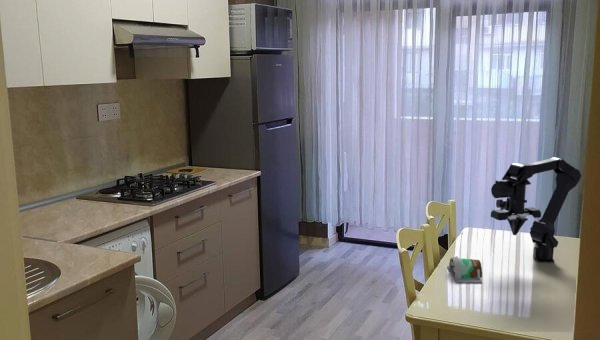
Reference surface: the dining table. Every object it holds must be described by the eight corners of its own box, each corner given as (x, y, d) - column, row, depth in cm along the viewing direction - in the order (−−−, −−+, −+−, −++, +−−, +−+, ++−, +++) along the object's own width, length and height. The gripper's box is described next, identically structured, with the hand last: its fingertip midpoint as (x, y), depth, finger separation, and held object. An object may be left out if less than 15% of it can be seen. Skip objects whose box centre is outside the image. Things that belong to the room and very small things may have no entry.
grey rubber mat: (471, 267, 221) (471, 266, 221) (482, 283, 205) (482, 281, 205) (447, 267, 221) (447, 266, 221) (455, 283, 206) (455, 281, 206)
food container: (483, 263, 206) (456, 262, 207) (483, 279, 208) (455, 278, 208) (475, 252, 219) (449, 251, 219) (474, 267, 220) (448, 267, 220)
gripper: (525, 190, 229) (523, 227, 232) (484, 192, 225) (481, 230, 228) (543, 196, 219) (540, 235, 221) (500, 199, 214) (497, 239, 217)
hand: (514, 235), depth 222 cm, fingers closed
